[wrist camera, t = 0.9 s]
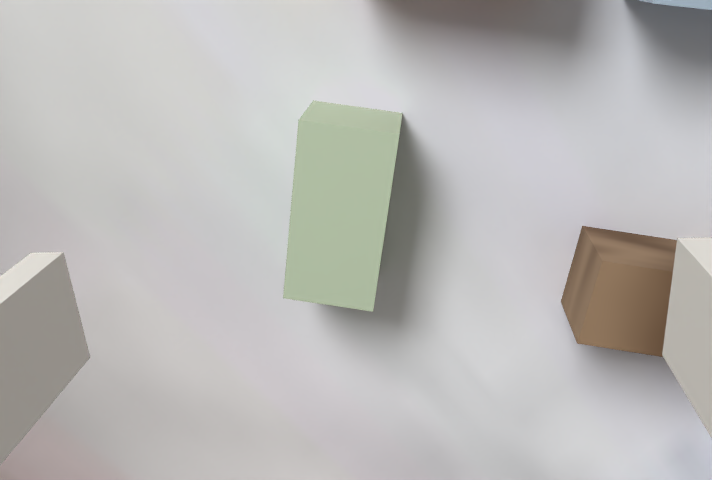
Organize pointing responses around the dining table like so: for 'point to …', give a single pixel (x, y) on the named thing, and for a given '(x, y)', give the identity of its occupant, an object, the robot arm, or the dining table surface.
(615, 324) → the walnut brick
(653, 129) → the dining table surface
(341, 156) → the sage brick
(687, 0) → the blue brick
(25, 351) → the robot arm
